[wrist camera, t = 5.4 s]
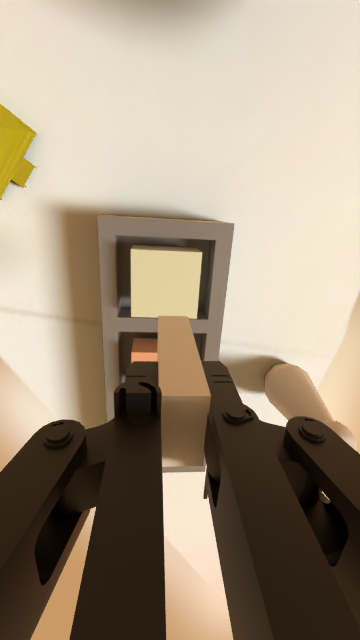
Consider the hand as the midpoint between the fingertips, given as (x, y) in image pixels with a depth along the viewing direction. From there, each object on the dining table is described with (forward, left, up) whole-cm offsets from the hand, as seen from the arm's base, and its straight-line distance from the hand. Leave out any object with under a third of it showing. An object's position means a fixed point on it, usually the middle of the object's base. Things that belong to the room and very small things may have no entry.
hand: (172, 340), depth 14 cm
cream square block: (0, 0, -14) cm, 14 cm away
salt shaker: (+14, +16, -18) cm, 28 cm away
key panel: (+10, 0, -18) cm, 20 cm away
